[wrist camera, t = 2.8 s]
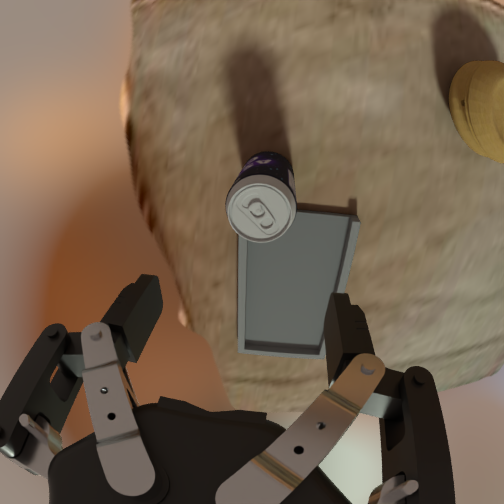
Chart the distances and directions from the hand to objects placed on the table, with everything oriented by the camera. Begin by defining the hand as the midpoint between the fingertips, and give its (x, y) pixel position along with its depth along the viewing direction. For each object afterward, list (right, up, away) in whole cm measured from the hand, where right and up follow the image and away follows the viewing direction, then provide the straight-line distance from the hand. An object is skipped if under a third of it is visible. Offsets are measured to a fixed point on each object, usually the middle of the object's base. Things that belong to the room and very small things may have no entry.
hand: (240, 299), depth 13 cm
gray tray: (+6, -3, +27) cm, 27 cm away
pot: (+28, +20, +11) cm, 36 cm away
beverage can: (+2, +11, +19) cm, 22 cm away
